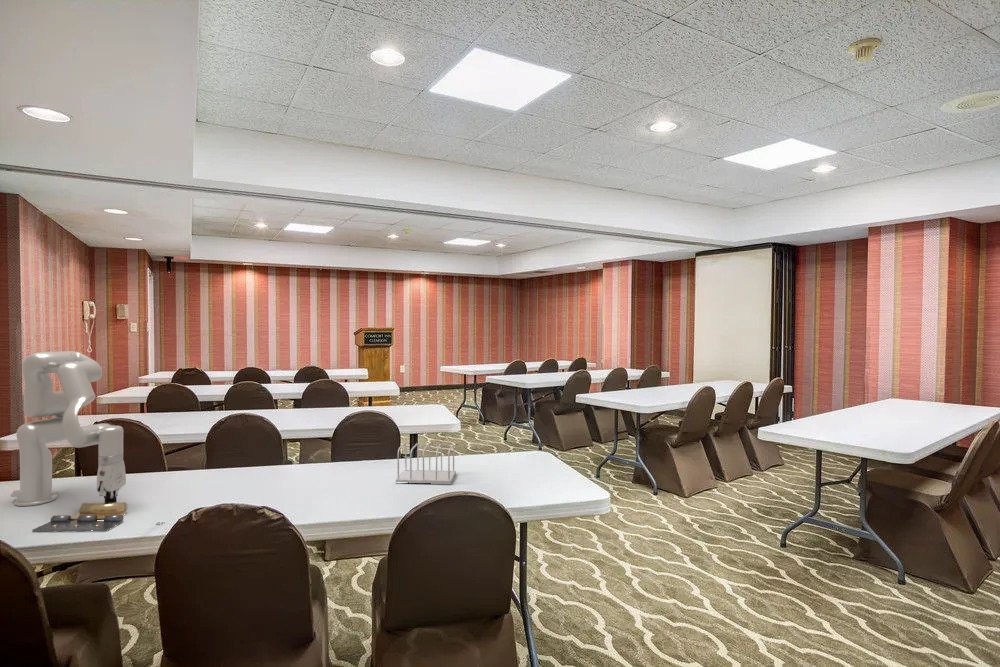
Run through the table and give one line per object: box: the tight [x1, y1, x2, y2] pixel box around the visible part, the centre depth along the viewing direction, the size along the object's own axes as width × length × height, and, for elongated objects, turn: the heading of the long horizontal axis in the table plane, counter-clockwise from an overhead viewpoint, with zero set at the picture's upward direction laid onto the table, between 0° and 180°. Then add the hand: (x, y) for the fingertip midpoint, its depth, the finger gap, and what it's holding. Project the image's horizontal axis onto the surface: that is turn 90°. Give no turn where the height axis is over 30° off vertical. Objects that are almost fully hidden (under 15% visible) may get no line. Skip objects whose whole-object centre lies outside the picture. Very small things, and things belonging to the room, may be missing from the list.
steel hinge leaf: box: [31, 514, 124, 533], centre depth 183 cm, size 24×10×3 cm, turn 93°
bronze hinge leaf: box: [70, 502, 128, 521], centre depth 193 cm, size 16×9×4 cm, turn 93°
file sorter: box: [395, 442, 457, 485], centre depth 246 cm, size 25×17×16 cm
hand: (110, 507), depth 199 cm, fingers closed
